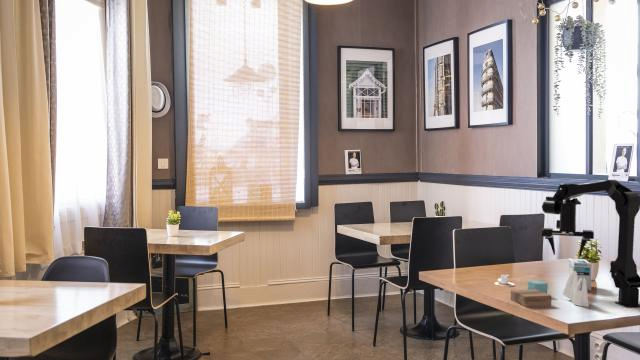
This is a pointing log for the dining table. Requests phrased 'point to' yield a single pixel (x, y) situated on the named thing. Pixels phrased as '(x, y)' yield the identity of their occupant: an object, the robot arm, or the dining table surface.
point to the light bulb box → (581, 270)
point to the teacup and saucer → (504, 280)
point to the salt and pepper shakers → (576, 290)
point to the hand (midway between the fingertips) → (567, 255)
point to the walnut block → (531, 298)
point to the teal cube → (537, 286)
